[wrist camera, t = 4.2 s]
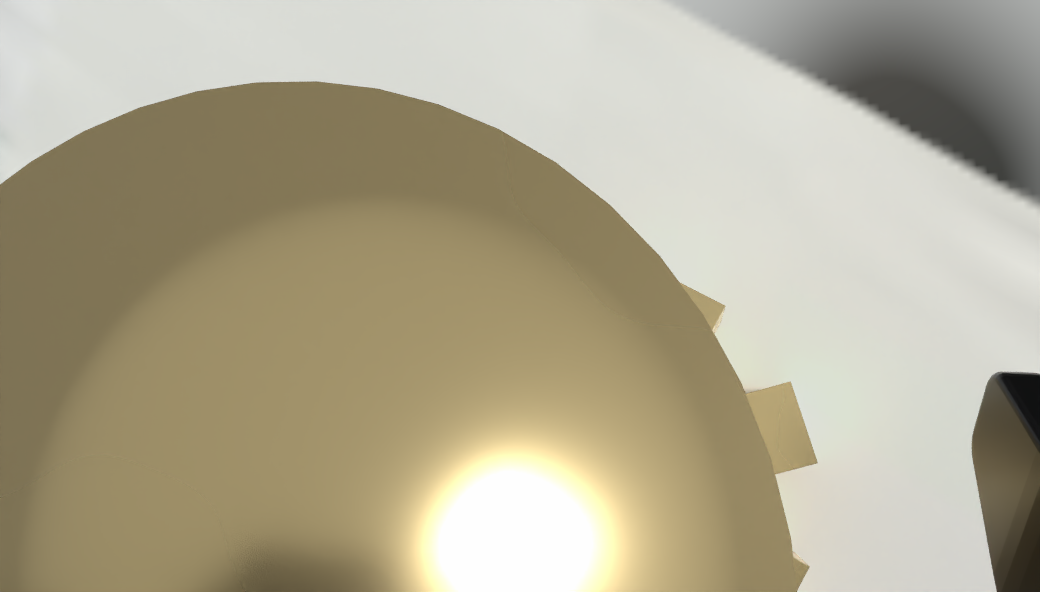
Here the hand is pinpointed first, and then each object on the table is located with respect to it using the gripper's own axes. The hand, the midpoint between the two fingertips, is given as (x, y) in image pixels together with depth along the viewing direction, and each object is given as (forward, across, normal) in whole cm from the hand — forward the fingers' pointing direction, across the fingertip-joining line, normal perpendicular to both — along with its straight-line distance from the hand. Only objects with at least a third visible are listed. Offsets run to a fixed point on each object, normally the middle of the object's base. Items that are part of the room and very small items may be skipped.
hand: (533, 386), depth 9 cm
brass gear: (+4, 0, +6) cm, 7 cm away
